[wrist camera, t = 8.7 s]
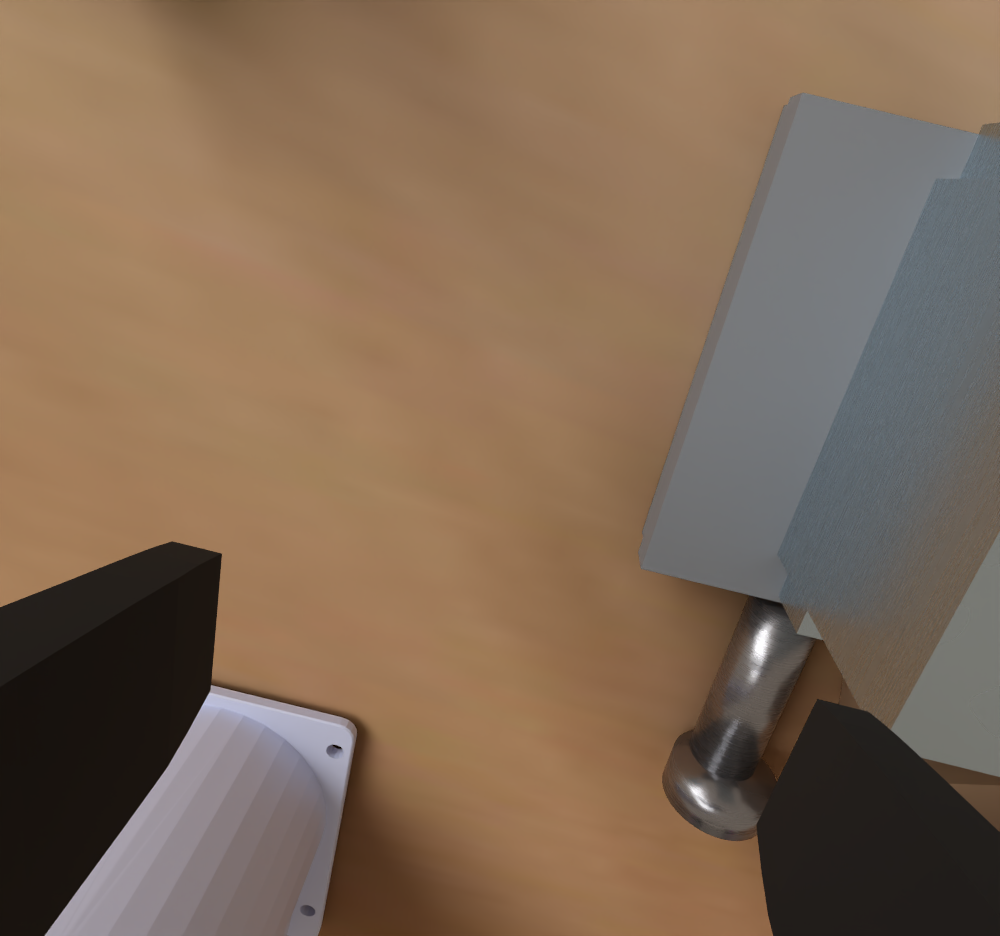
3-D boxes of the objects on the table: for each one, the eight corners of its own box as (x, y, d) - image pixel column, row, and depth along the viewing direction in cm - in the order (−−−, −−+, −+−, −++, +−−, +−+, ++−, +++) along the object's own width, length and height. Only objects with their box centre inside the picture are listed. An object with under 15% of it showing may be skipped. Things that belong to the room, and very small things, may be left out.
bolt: (752, 770, 21) (775, 853, 18) (658, 746, 21) (667, 824, 18) (833, 597, 19) (872, 663, 16) (726, 570, 19) (748, 631, 16)
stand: (1017, 622, 19) (1066, 672, 17) (634, 529, 19) (641, 568, 17) (1255, 218, 15) (1353, 222, 13) (774, 103, 15) (803, 92, 13)
